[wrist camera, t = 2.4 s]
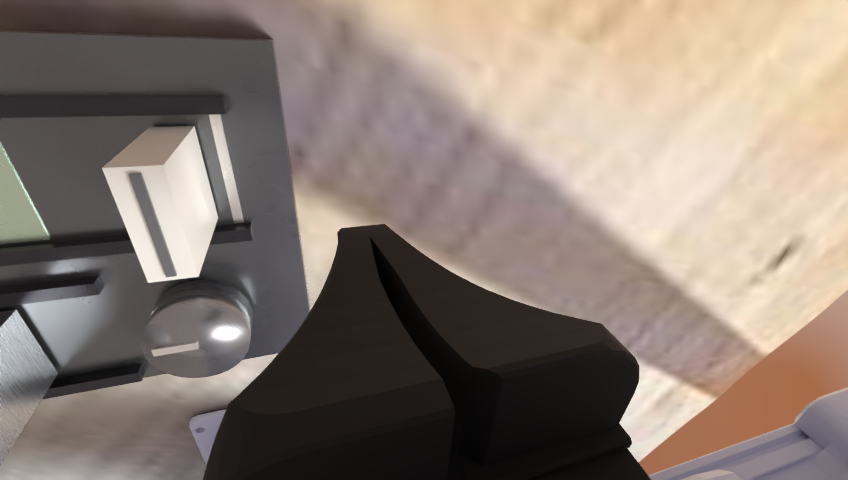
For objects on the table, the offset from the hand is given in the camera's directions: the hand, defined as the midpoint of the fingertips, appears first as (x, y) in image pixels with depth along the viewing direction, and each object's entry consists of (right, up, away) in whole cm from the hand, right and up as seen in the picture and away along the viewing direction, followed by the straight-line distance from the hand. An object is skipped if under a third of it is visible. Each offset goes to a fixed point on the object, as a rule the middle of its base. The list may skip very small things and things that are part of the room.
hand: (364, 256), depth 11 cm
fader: (-8, +3, +4) cm, 10 cm away
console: (-12, +1, +6) cm, 14 cm away
